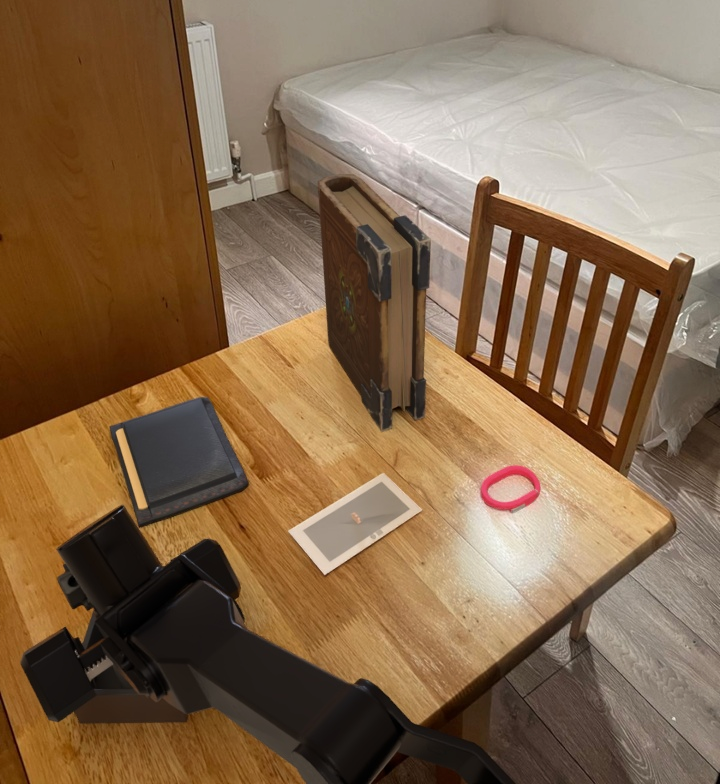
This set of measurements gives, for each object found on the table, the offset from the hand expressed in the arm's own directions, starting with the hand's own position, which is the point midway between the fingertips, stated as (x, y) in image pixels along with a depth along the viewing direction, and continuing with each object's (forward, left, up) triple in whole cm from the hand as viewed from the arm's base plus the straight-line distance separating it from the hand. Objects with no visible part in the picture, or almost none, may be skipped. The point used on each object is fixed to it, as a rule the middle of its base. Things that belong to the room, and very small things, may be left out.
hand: (123, 614), depth 73 cm
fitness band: (+22, -43, -9) cm, 49 cm away
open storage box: (-1, -1, -8) cm, 9 cm away
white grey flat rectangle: (+17, -23, -9) cm, 30 cm away
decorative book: (+45, -25, -9) cm, 52 cm away
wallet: (+29, +2, -9) cm, 30 cm away
